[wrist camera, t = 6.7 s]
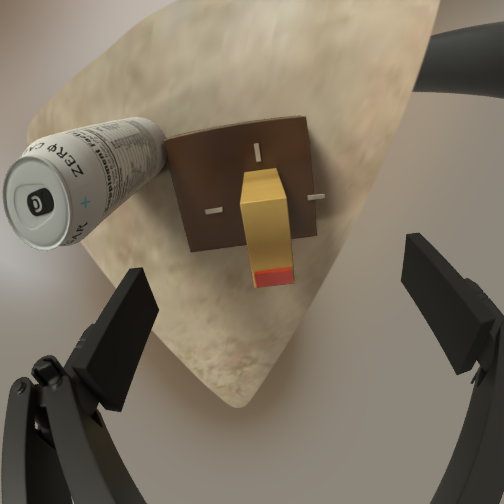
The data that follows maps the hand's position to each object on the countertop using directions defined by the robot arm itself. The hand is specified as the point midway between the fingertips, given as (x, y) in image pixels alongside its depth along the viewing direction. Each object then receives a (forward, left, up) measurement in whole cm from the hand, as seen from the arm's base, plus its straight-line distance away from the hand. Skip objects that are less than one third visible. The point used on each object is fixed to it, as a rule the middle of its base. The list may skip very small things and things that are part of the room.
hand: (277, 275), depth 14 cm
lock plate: (+2, -1, -14) cm, 14 cm away
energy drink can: (+11, -6, -14) cm, 18 cm away
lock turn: (0, 0, -11) cm, 11 cm away
